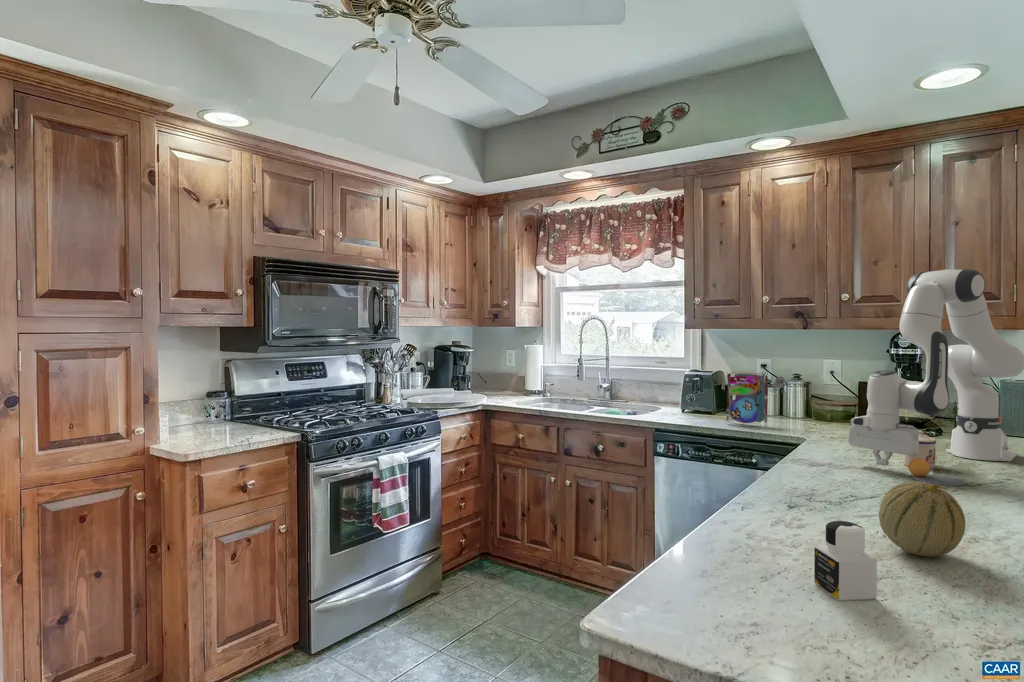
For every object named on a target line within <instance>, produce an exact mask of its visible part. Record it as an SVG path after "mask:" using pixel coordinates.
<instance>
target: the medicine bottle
mask: <svg viewBox="0 0 1024 682" xmlns="http://www.w3.org/2000/svg"><path fill="white" fill-rule="evenodd" d="M865 540H866V530H865V529H864V528H863V527H862V526H860V525H858V524H857V523H854V522H851V521H847V520H846V521H845V520H833V521H830V522H827V524H825V544H821V545H819V544H818V545H815V546H814V566H813V568H814V570H813V571H814V573H813V576H814V578H813V579H814V585H816V586H818V587H819V588H820V589H821V590H823V591H825V592H826V593H827V594H829V595H830V596H831V597H833V598H834V599H835V600H836V601H838V602H842V601H844V602H845V601H846V602H847V601H861V600H863V601H864V600H876V599H877V598H878V597H877V595H878V591H877V589H878V587H877V586H878V577H877V576H878V559H877V558H876V557H875V556H873V555H871V554H869V553H868V552H865V551H866V550H865V549H866V547H865V546H866V544H865V542H866V541H865Z"/></svg>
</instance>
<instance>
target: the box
mask: <svg viewBox="0 0 1024 682" xmlns="http://www.w3.org/2000/svg"><path fill="white" fill-rule="evenodd" d="M732 374H734V376H732ZM768 376H769V375H768V374H767V373H763V372H749V371H748V372H745V371H742V372H741V371H729V372H728V373H727V374H726V378H727V380H726V385H727V390H725V391H726V394H725V395H726V396H725V397H726V404H727V405H726V423H729V419H731V421H732V422H731V423H732V424H731V427H732V426H733V427H734V424H735V425H736V423H740V425H745V424H749V426H751V427H753V428H755V429H756V426H753V423H754V422H755V423H754V425H757V426H758V425H760V424H761V422H764V425H763V426H764V427H763V426H762V425H760V426H758V427H759V428H762V429H763V428H767V427H768V425H767V424H768V404H769V403H768V401H769V400H768V396H769V395H768V394H769V388H768V386H769V385H768V380H769V377H768ZM785 383H786V380H785V378H784V377H783V376H777V377H776V378H775V381H774V383H772V384H770V386H771V387H776V388H778V389H779V388H782V387H783V386H785ZM732 396H734V397H735V398H734V399H733V398H732ZM728 409H729V410H728ZM728 414H729V416H728ZM733 421H735V422H736V423H735V422H733ZM756 422H758V423H756ZM751 423H752V425H751ZM740 427H742V428H743V426H740Z"/></svg>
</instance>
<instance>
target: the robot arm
mask: <svg viewBox="0 0 1024 682" xmlns="http://www.w3.org/2000/svg"><path fill="white" fill-rule="evenodd" d="M985 289H986V279H985V277H984V276H983V275H982V274H981V272H979V271H978V270H974V269H969V268H965V269H954V268H953V269H942V270H939V269H938V270H932V271H921V272H917V273H914V274H913V275H911V276H910V278H909V279H908V281H907V283H906V293H907V296H906V299H905V301H904V304H903V307H902V310H901V315H900V319H899V332H900V334H901V335H902V337H903V338H904V339H905V340H906V341H907V342H908V343H910V344H913V345H915V346H917V347H919V348H920V349H922V350H923V351H924V353H925V356H926V359H925V360H926V362H925V363H926V365H925V379H924V380H923V382H921V381H912V380H908V379H905V378H902V377H901V376H899V375H898V372H896V371H894V370H888V369H887V370H876V371H874V372H872V373H870V375H869V377H868V381H867V387H866V399H867V409H866V414H865V415H864V414H863V415H861V416H855V417H853V418H851V419H850V424H851V426H850V427H849V428H848V437H847V438H848V439H847V442H848V444H849V445H850V447H855V448H856V447H857V448H863V449H868V450H872V454H873V456H874V457H875V459H876V460H875V461H876V462H875V463H876V465H882V466H888V465H889V461H890V459H891V458H892V456H893V454H897V455H903V454H904V455H910V456H914V455H917V454H918V453H919V441H918V438H919V431H918V430H919V429H918V428H917V427H915V426H914V425H913V424H912V425H911V424H904V423H900V411H899V410H901V411H907V412H912V413H918V414H921V415H925V416H930V417H935V416H936V417H937V416H938V415H940V414H942V413H943V412H945V410H946V409H947V408H948V407H949V404H950V393H949V388H948V378H949V379H950V380H951V382H952V383H953V386H954V387H955V390H956V394H957V403H958V406H957V407H958V412H957V413H958V414H956V419H955V420H956V425H957V426H956V427H955V428H953V429H952V431H951V441H950V448H946V450H945V451H946V453H949V454H952V455H953V456H957V457H960V458H966V459H971V460H979V461H995V462H996V461H997V462H999V461H1000V462H1012V461H1014V459H1015V458H1017V456H1018V454H1017V451H1013V450H1009V444H1010V443H1009V437H1008V436H1007V435H1006V434H1005V433H1004V431H1003V430H1002V429H1001V428H1002V425H1001V424H1003V417H1002V416H999V405H1000V404H999V403H1000V402H999V401H1000V400H999V399H1000V398H999V396H998V394H997V392H996V391H995V390H993V389H991V388H989V387H988V386H986V385H985V384H984V383H983V382H982V380H981V377H983V378H999V379H1001V378H1010V377H1011V378H1012V377H1017V376H1019V375H1020V374H1021V373H1023V371H1024V353H1023V351H1022V350H1021V349H1019V348H1018V347H1016V346H1014V345H1012V344H1010V343H1008V342H1007V341H1006V340H1005V339H1004V338H1002V337H1001V336H1000V334H999V333H998V332H997V331H996V329H995V327H994V326H993V322H992V319H991V316H990V312H989V309H988V305H987V301H986V297H985V295H984V292H985ZM944 305H945V307H946V308H945V307H944ZM944 308H945V309H946V314H947V318H948V322H949V326H950V331H951V332H952V334H953V335H954V337H956V338H958V339H959V340H962V341H963V342H965V343H967V344H953V345H952V344H951V345H949V342H948V338H947V336H946V334H944V333H943V331H942V321H943V316H944V315H943V314H944ZM881 452H884V455H885V457H884V458H883V457H881V455H880V454H881Z"/></svg>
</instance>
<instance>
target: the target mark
mask: <svg viewBox="0 0 1024 682" xmlns="http://www.w3.org/2000/svg"><path fill="white" fill-rule="evenodd" d="M912 479H913V480H915V481H920V482H925V483H928V484H932V485H934V484H939V485H940V486H942V487H943V486H945V487H962V486H965V485H967V481H966V480H963V479H960V478H958V477H955V476H954V477H953V476H950V475H949V476H948V475H942V474H931V473H928V474H927V475H926V476H923V477H918V476H915V475H913V476H912Z"/></svg>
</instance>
